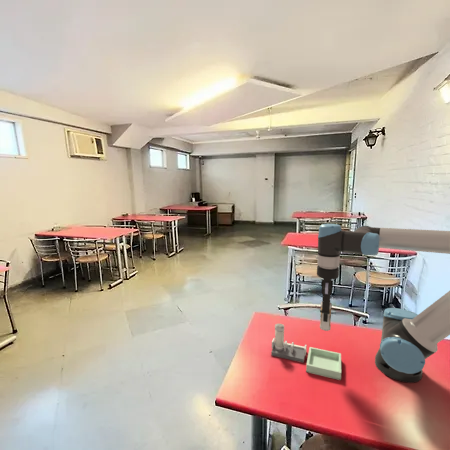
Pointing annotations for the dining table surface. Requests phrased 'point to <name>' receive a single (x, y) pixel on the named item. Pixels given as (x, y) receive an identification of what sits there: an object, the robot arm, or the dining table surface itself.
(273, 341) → the block
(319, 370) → the parts tray
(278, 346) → the cylinder
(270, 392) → the dining table surface
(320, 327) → the fuse
